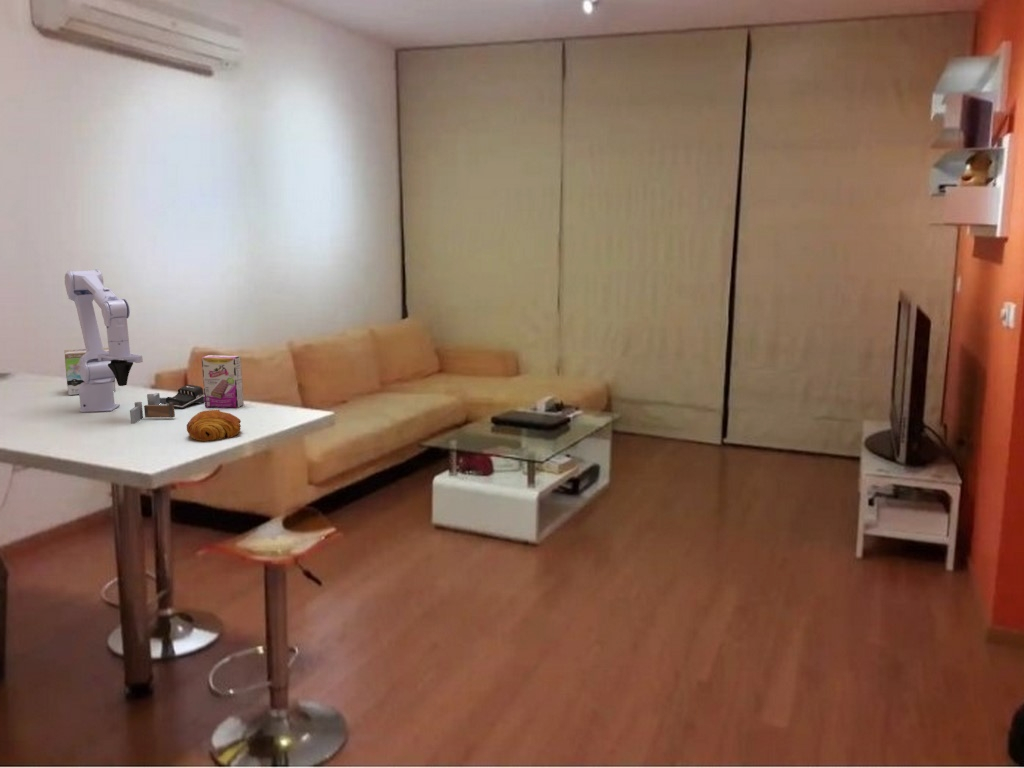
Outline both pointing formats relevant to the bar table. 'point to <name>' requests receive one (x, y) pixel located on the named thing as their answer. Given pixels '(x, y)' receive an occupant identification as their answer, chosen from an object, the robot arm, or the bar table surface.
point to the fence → (137, 411)
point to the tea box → (75, 370)
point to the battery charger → (186, 396)
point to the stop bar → (163, 400)
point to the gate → (159, 411)
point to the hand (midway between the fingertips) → (122, 385)
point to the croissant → (213, 425)
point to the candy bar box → (222, 381)
